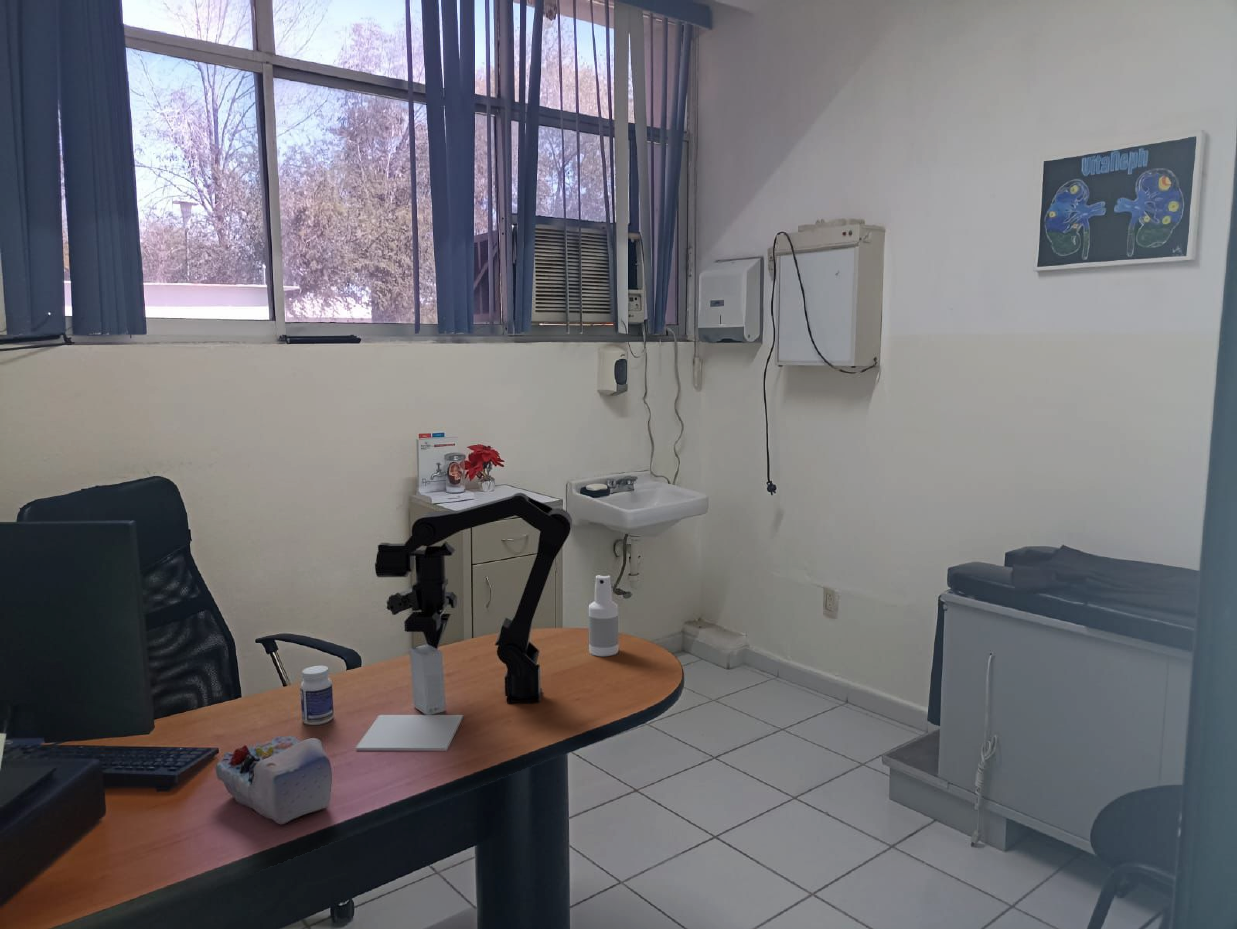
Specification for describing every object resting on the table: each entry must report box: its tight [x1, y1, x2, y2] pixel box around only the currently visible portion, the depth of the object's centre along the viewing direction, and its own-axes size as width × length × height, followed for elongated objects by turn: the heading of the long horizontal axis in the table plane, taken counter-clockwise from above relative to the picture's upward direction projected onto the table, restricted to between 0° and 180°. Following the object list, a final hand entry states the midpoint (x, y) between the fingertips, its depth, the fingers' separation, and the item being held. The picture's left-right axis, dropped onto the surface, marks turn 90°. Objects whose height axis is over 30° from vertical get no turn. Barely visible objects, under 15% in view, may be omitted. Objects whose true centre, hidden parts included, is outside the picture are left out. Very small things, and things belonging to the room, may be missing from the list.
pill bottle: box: [299, 665, 335, 726], centre depth 165 cm, size 6×6×10 cm
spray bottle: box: [588, 574, 619, 657], centre depth 201 cm, size 7×7×18 cm
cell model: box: [214, 735, 333, 825], centre depth 135 cm, size 13×11×20 cm
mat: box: [355, 714, 464, 752], centre depth 159 cm, size 16×14×1 cm
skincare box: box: [409, 643, 447, 715], centre depth 169 cm, size 6×4×12 cm
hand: (433, 652), depth 174 cm, fingers closed
